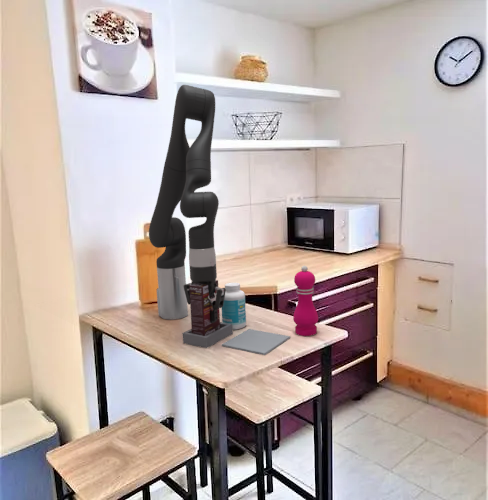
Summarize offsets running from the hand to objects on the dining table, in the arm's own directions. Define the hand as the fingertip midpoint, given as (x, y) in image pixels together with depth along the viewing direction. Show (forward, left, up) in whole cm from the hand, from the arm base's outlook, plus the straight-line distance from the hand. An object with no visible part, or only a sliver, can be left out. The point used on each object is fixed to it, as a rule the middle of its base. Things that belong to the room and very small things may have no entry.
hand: (206, 320), depth 135 cm
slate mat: (+14, +4, -5) cm, 16 cm away
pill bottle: (+1, +12, -6) cm, 14 cm away
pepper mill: (+23, +17, -6) cm, 30 cm away
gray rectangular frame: (0, 0, -5) cm, 6 cm away
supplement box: (0, 0, -5) cm, 5 cm away
